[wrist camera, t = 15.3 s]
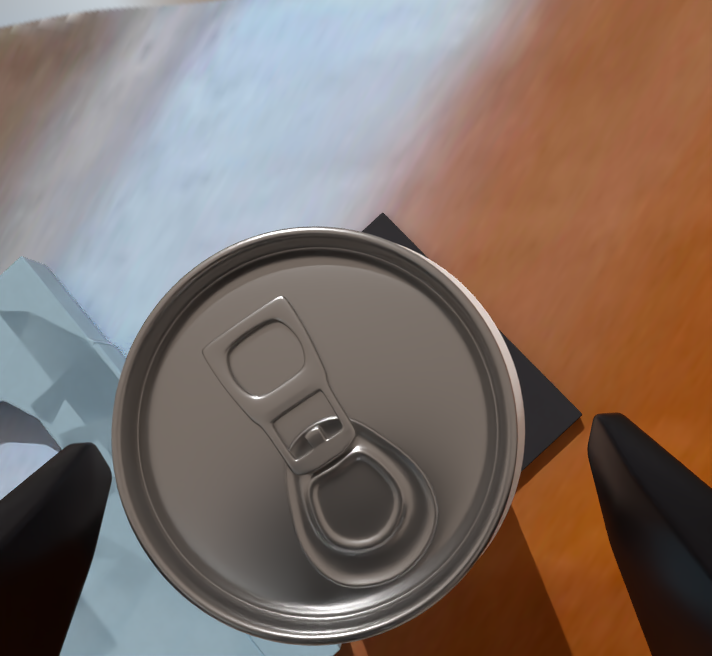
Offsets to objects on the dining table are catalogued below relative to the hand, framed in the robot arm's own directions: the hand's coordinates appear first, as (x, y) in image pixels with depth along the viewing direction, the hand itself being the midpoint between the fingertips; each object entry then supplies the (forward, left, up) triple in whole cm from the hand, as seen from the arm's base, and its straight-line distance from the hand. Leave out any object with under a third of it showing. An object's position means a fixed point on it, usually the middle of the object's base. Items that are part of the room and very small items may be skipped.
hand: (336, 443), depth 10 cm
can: (0, 0, -10) cm, 10 cm away
